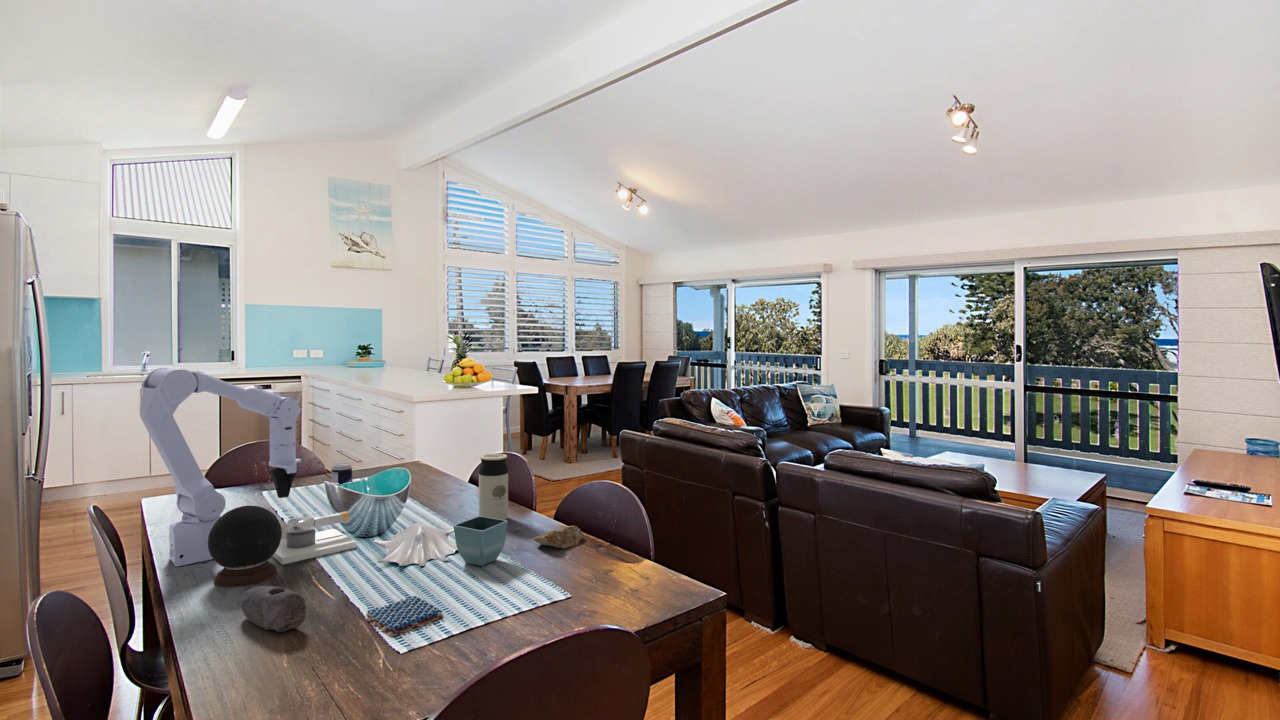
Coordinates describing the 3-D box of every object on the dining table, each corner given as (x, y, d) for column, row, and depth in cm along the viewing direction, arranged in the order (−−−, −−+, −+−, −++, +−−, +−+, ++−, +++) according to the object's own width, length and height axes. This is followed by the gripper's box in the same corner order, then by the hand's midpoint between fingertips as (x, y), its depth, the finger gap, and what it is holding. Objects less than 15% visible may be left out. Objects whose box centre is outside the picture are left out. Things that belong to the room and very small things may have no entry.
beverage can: (346, 506, 184) (346, 466, 184) (327, 505, 184) (327, 466, 184) (355, 501, 190) (355, 462, 189) (337, 500, 190) (337, 462, 189)
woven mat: (416, 602, 119) (416, 592, 119) (445, 620, 112) (445, 609, 112) (362, 621, 111) (362, 610, 111) (390, 641, 104) (390, 629, 104)
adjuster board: (282, 564, 136) (282, 544, 136) (263, 549, 146) (263, 530, 146) (356, 547, 148) (355, 529, 148) (334, 534, 158) (334, 517, 158)
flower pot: (452, 564, 138) (452, 524, 138) (479, 552, 146) (479, 515, 145) (482, 571, 134) (482, 531, 134) (508, 558, 142) (508, 520, 141)
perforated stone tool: (230, 621, 109) (229, 583, 109) (260, 610, 114) (259, 573, 114) (279, 642, 102) (279, 601, 102) (309, 629, 107) (309, 590, 107)
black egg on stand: (296, 569, 134) (296, 501, 134) (242, 592, 121) (242, 518, 121) (249, 562, 138) (248, 496, 137) (192, 585, 125) (191, 512, 124)
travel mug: (476, 517, 174) (476, 454, 174) (504, 514, 177) (504, 452, 177) (481, 525, 167) (481, 459, 166) (510, 521, 170) (511, 457, 170)
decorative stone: (524, 529, 148) (560, 520, 162) (523, 547, 148) (559, 537, 161) (556, 534, 144) (591, 525, 157) (555, 553, 143) (590, 543, 157)
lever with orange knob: (292, 535, 142) (292, 525, 141) (283, 530, 145) (283, 520, 145) (353, 523, 152) (353, 513, 152) (343, 518, 155) (343, 509, 155)
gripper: (309, 445, 153) (310, 499, 154) (290, 438, 164) (291, 489, 164) (278, 449, 148) (278, 504, 149) (260, 441, 158) (261, 493, 159)
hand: (283, 497), depth 156 cm, fingers closed
